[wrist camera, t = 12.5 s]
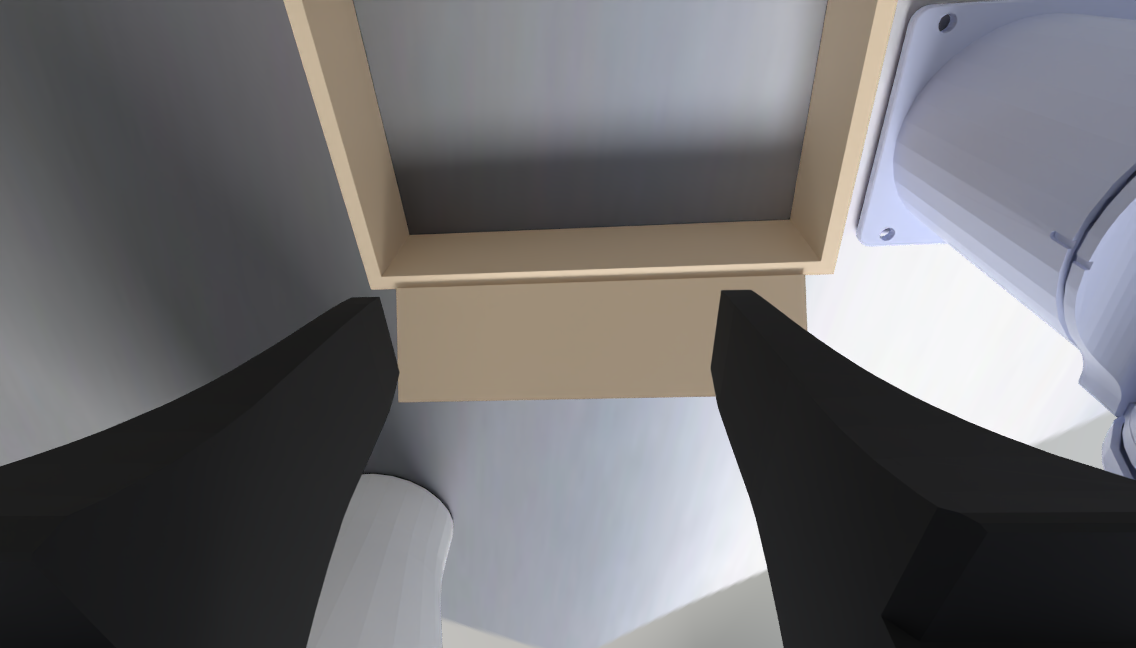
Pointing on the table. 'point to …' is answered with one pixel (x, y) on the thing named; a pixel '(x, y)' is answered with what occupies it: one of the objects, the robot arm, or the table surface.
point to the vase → (385, 569)
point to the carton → (584, 245)
